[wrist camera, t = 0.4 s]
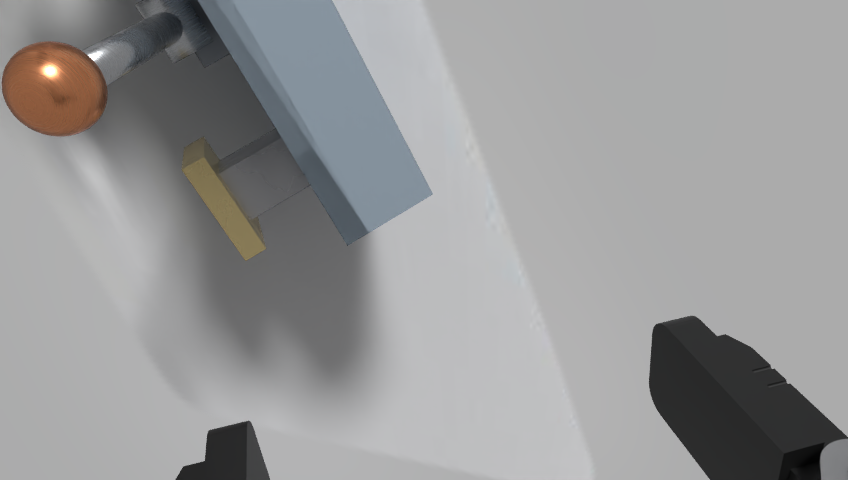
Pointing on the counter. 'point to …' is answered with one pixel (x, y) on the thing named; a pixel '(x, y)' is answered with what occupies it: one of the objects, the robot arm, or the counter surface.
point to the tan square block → (244, 185)
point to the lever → (94, 68)
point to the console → (319, 105)
